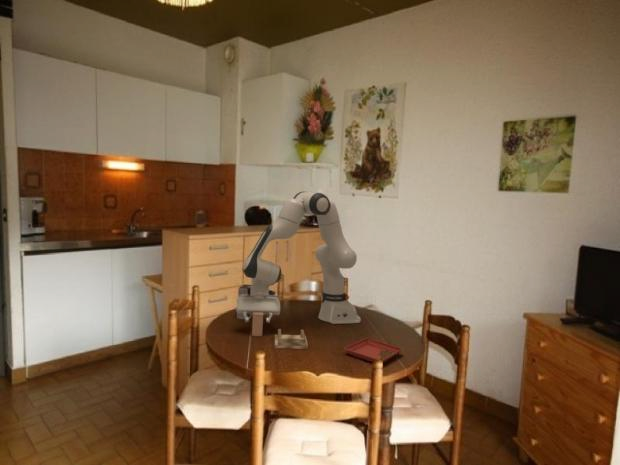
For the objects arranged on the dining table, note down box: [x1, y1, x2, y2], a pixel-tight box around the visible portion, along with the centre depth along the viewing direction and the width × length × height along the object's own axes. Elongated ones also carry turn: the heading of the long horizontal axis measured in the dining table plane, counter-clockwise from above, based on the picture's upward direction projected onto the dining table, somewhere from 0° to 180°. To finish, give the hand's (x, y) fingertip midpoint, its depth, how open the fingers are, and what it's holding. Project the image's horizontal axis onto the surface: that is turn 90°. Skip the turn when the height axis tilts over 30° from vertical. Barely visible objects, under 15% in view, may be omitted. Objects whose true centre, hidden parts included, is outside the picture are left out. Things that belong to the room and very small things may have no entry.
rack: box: [274, 328, 309, 350], centre depth 179 cm, size 14×13×4 cm
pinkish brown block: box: [251, 312, 264, 337], centre depth 186 cm, size 4×4×10 cm
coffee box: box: [236, 284, 253, 320], centre depth 211 cm, size 9×6×16 cm
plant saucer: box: [344, 337, 403, 363], centre depth 171 cm, size 18×18×3 cm
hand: (257, 321), depth 186 cm, fingers open, 8 cm apart
